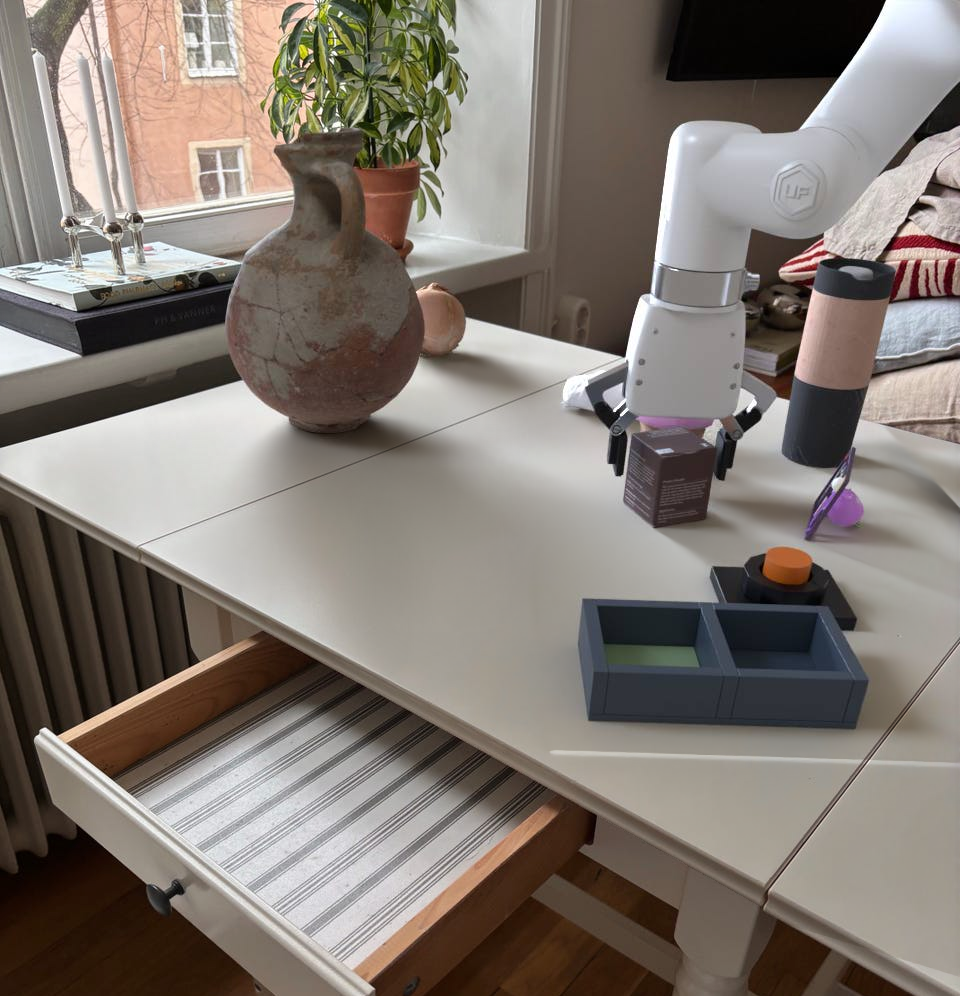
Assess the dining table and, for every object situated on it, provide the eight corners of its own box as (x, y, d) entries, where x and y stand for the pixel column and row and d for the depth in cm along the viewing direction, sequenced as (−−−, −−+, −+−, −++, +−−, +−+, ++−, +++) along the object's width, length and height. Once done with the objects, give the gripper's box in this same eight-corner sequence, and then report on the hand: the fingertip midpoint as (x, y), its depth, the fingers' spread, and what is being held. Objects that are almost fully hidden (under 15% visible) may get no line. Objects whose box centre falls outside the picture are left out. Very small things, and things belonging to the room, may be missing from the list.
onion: (433, 366, 141) (443, 294, 140) (474, 364, 134) (485, 289, 133) (378, 351, 135) (388, 276, 134) (418, 348, 128) (429, 269, 127)
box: (675, 495, 99) (685, 425, 95) (707, 520, 94) (720, 448, 90) (621, 503, 97) (629, 431, 93) (651, 529, 92) (661, 455, 88)
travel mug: (805, 437, 114) (845, 254, 103) (863, 458, 109) (912, 268, 98) (764, 451, 110) (802, 262, 99) (823, 474, 105) (870, 278, 94)
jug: (348, 377, 127) (337, 113, 110) (465, 423, 114) (471, 132, 98) (199, 415, 114) (161, 122, 97) (312, 472, 101) (291, 146, 85)
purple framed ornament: (845, 442, 94) (837, 476, 87) (895, 468, 94) (891, 504, 87) (807, 498, 98) (796, 536, 91) (854, 524, 98) (847, 563, 91)
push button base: (825, 581, 85) (833, 550, 83) (854, 631, 78) (863, 598, 76) (709, 578, 85) (714, 546, 83) (727, 627, 78) (734, 594, 76)
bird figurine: (642, 424, 119) (573, 387, 122) (657, 376, 114) (584, 340, 117) (622, 442, 117) (552, 405, 120) (636, 395, 111) (562, 357, 114)
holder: (816, 652, 75) (828, 605, 73) (855, 729, 67) (870, 680, 65) (577, 644, 75) (582, 597, 73) (588, 721, 67) (593, 671, 65)
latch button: (801, 566, 81) (805, 547, 81) (813, 587, 78) (818, 568, 77) (757, 564, 81) (761, 545, 80) (768, 586, 78) (772, 566, 77)
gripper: (786, 279, 87) (750, 461, 97) (590, 271, 87) (573, 454, 97) (809, 300, 81) (768, 493, 90) (598, 292, 81) (579, 485, 90)
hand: (667, 472), depth 93 cm, fingers open, 9 cm apart
